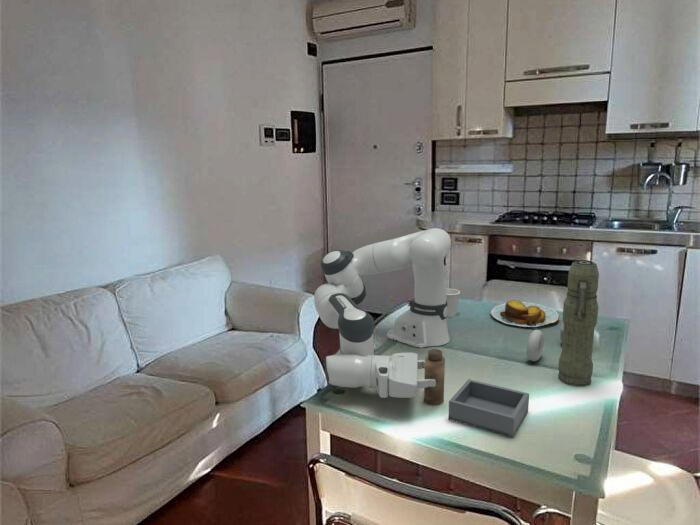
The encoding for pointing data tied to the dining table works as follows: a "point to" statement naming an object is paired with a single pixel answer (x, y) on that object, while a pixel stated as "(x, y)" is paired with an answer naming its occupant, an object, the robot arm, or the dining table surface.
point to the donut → (535, 345)
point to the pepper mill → (434, 370)
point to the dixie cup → (452, 301)
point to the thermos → (579, 324)
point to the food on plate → (524, 313)
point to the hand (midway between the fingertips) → (435, 374)
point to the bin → (489, 407)
